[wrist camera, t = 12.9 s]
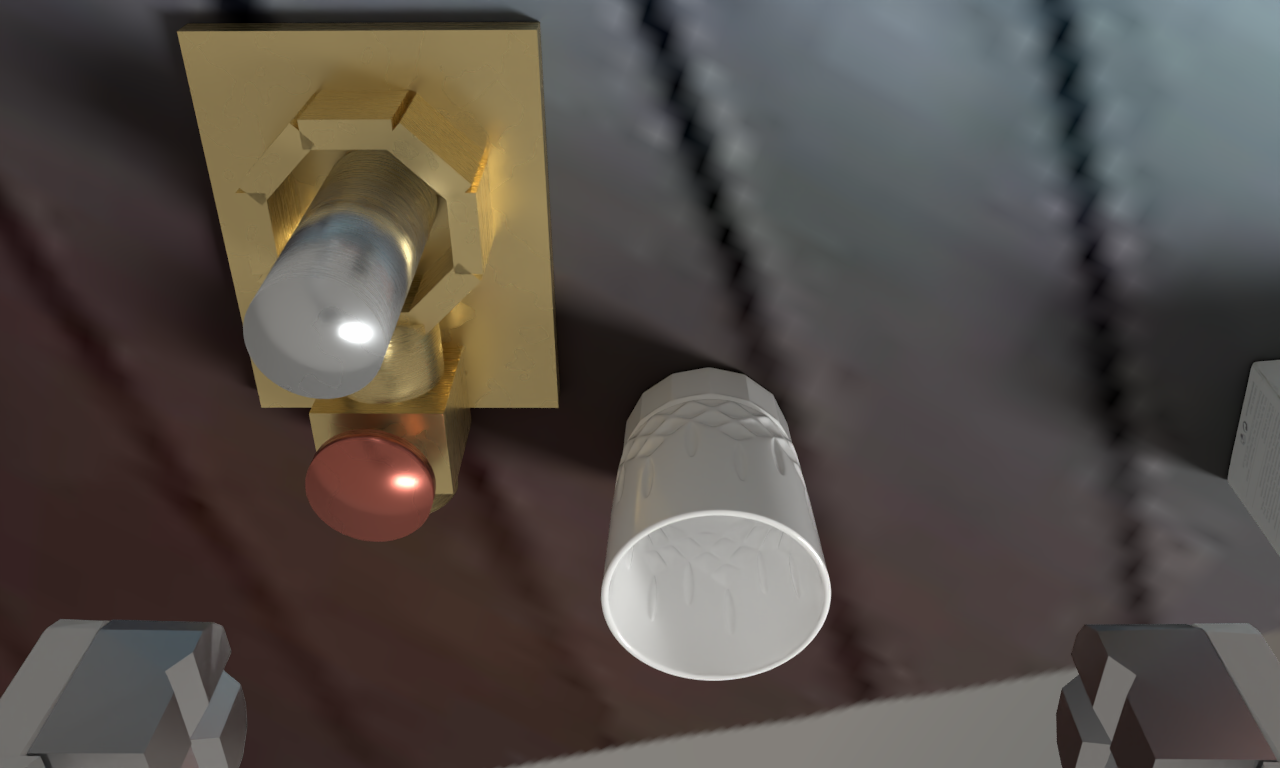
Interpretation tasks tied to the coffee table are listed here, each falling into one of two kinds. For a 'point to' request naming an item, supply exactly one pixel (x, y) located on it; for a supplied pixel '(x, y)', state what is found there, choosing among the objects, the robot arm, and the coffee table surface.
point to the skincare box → (1260, 450)
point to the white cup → (712, 533)
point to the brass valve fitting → (454, 252)
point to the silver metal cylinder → (342, 278)
